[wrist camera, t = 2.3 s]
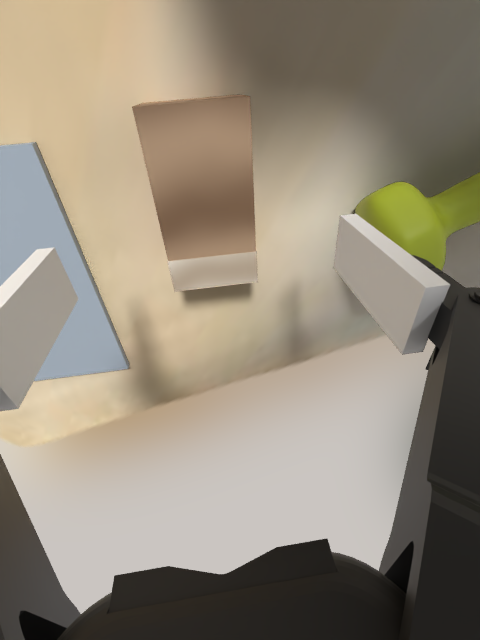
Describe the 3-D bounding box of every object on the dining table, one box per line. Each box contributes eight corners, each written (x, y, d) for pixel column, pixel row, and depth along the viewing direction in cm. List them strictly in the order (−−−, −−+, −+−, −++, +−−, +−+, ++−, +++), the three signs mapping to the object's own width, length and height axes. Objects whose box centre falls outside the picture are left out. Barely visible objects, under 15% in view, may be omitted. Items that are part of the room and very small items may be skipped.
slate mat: (-204, 164, 18) (-214, 166, 18) (35, 142, 19) (31, 143, 18) (-11, 382, 31) (-15, 387, 30) (129, 364, 31) (128, 368, 31)
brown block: (142, 102, 18) (130, 107, 15) (242, 94, 19) (251, 96, 16) (177, 265, 25) (174, 291, 22) (250, 257, 26) (257, 282, 22)
